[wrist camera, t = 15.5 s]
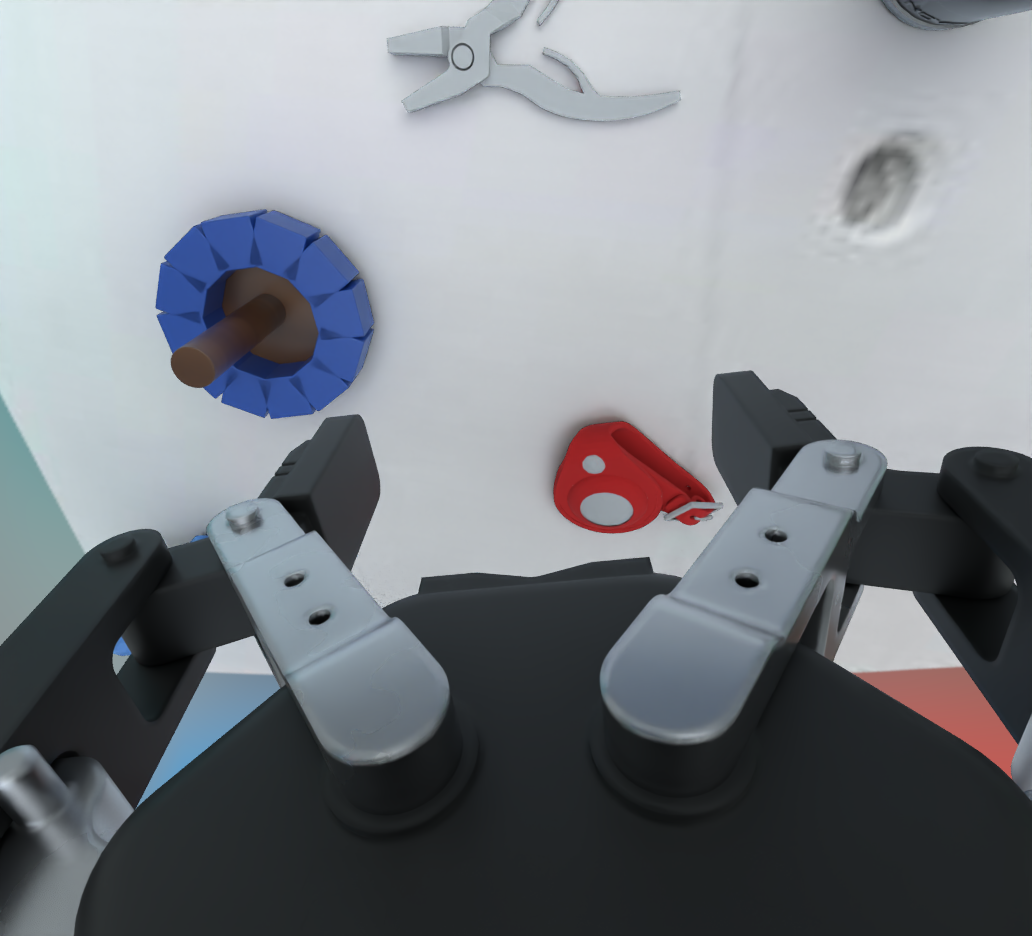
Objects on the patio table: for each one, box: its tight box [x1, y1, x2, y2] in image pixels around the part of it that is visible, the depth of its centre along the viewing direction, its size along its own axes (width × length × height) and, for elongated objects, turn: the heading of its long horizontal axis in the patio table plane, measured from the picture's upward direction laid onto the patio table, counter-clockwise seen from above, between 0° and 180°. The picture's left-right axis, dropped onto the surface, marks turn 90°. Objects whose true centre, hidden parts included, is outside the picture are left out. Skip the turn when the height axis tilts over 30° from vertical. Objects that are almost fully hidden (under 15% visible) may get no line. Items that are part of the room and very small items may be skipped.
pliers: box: [387, 0, 681, 121], centre depth 33 cm, size 10×2×15 cm
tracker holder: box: [553, 421, 724, 533], centre depth 45 cm, size 12×4×10 cm
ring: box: [156, 209, 374, 419], centre depth 39 cm, size 12×12×3 cm
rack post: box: [171, 267, 319, 388], centre depth 36 cm, size 8×8×12 cm
